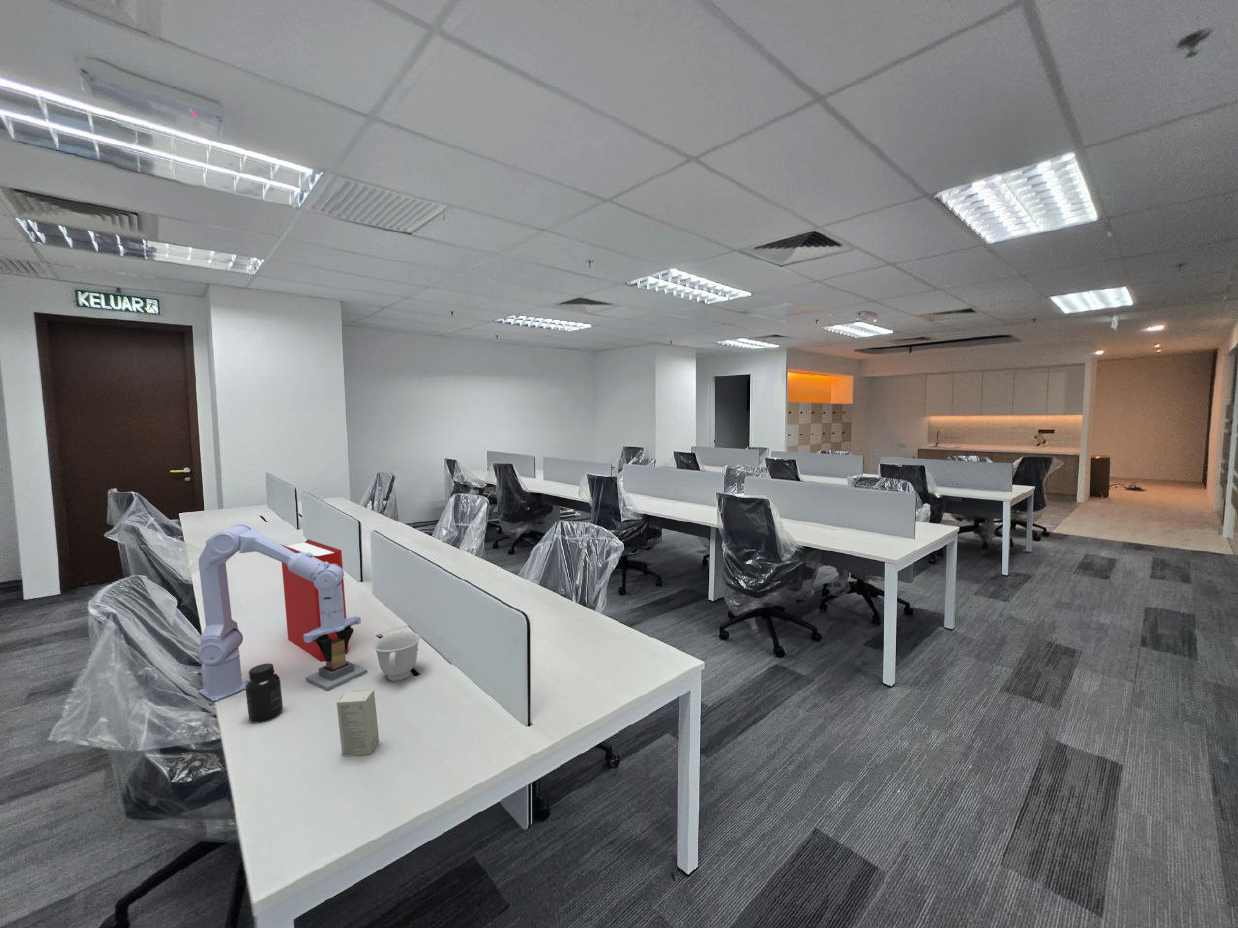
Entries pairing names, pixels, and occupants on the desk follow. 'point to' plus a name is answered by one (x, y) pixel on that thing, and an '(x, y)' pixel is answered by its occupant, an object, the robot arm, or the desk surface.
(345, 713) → the skincare box
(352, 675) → the stand
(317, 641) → the robot arm
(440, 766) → the desk surface
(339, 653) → the oak peg
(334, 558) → the book
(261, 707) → the supplement bottle
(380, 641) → the teacup
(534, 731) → the desk surface
